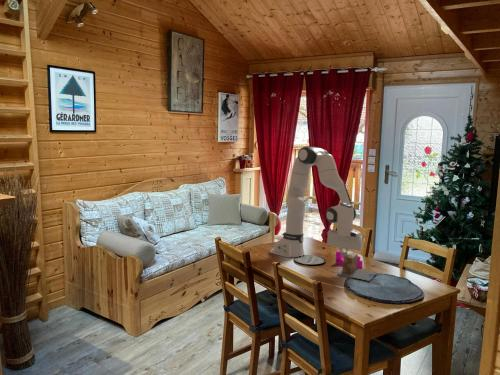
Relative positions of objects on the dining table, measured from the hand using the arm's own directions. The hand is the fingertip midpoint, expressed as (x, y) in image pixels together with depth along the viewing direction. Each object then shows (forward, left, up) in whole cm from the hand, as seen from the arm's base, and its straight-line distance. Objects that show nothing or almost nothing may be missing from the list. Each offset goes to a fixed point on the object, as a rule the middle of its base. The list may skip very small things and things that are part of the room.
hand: (343, 255), depth 234 cm
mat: (+9, 0, -10) cm, 13 cm away
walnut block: (+3, 0, -9) cm, 9 cm away
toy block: (-2, +13, -10) cm, 17 cm away
